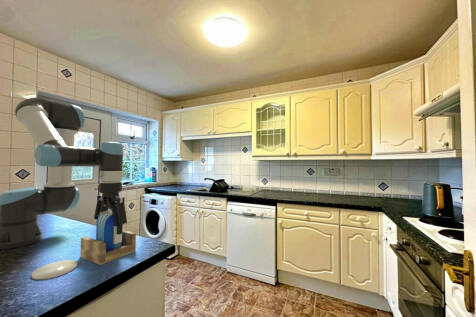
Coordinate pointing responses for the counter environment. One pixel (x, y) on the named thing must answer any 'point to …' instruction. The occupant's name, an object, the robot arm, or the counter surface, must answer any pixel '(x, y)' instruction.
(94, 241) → the oak holder
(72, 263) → the trivet
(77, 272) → the counter surface
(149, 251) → the counter surface
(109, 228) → the beer can
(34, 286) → the counter surface
